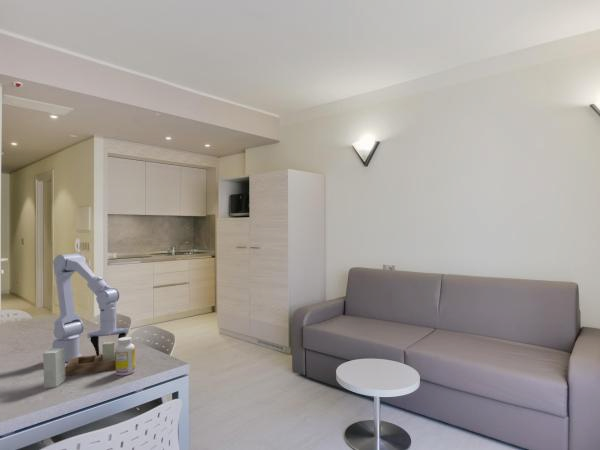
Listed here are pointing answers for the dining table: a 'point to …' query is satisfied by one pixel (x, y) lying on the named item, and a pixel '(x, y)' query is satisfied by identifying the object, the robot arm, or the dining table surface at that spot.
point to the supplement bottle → (125, 356)
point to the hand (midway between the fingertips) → (108, 353)
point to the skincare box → (54, 367)
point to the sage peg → (108, 351)
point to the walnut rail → (88, 364)
